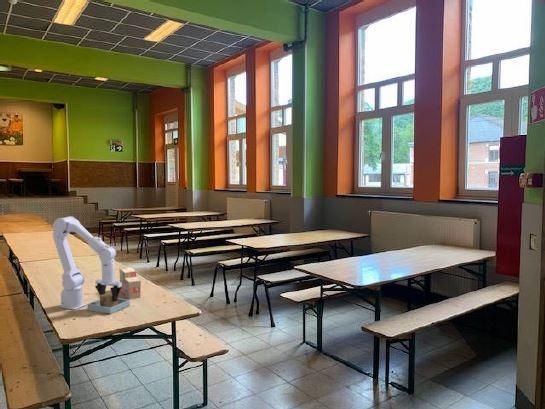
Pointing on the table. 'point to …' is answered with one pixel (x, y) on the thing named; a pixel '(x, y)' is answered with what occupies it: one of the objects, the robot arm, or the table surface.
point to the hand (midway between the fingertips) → (108, 300)
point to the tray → (107, 310)
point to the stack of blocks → (130, 283)
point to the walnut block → (107, 300)
